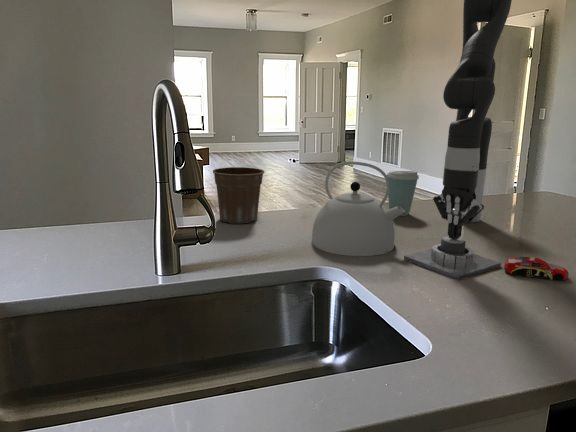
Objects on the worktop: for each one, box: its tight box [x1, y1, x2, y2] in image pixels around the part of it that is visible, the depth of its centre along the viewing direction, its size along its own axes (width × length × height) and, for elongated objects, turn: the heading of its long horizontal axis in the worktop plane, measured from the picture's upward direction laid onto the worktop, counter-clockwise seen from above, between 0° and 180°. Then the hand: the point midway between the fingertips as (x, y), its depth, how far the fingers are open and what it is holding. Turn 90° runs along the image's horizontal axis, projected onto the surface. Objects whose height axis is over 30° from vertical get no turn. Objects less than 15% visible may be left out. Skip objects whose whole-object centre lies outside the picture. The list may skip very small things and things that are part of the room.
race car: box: [503, 256, 570, 282], centre depth 108 cm, size 13×5×4 cm, turn 69°
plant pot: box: [212, 166, 265, 225], centre depth 151 cm, size 16×16×16 cm
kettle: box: [311, 161, 405, 257], centre depth 127 cm, size 25×23×23 cm
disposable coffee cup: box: [386, 170, 420, 217], centre depth 161 cm, size 11×11×15 cm
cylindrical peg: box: [440, 236, 467, 254], centre depth 114 cm, size 6×6×5 cm
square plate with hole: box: [403, 243, 502, 281], centre depth 114 cm, size 16×16×4 cm
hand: (454, 238), depth 113 cm, fingers closed
